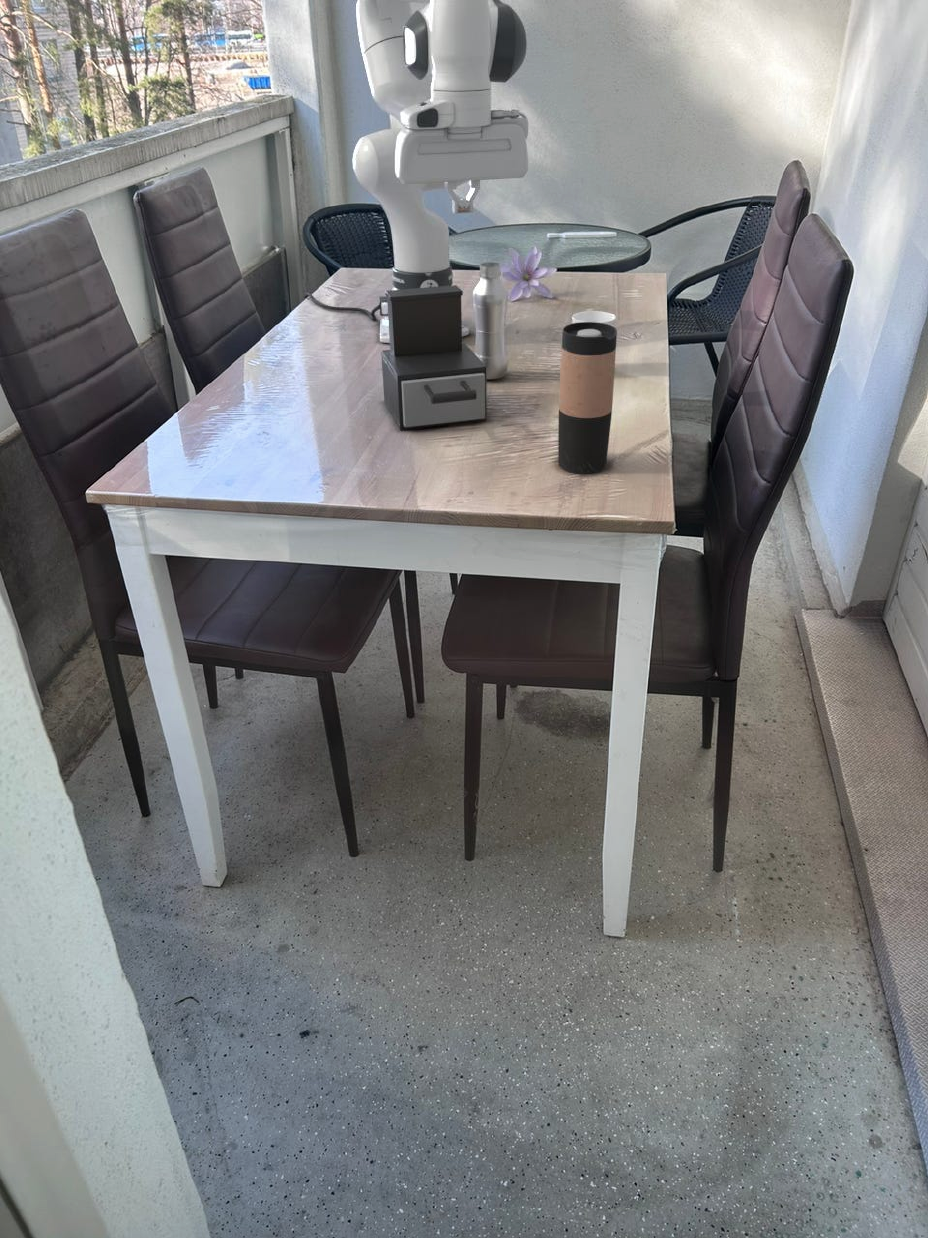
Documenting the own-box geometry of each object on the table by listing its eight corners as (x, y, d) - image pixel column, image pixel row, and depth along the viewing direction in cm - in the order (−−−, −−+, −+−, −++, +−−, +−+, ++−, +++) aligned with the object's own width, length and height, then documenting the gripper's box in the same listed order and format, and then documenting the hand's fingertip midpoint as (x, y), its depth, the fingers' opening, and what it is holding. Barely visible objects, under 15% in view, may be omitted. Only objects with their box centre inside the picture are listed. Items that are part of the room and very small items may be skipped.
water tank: (388, 349, 160) (385, 290, 155) (457, 343, 163) (456, 284, 158) (393, 357, 157) (390, 296, 152) (463, 350, 160) (462, 290, 154)
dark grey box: (486, 420, 157) (486, 366, 152) (400, 430, 154) (397, 375, 149) (465, 393, 168) (464, 342, 163) (384, 402, 165) (381, 350, 160)
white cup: (610, 378, 174) (614, 323, 168) (567, 376, 175) (570, 321, 170) (613, 365, 180) (617, 311, 175) (572, 363, 182) (574, 309, 176)
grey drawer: (496, 432, 150) (496, 387, 146) (413, 442, 147) (411, 396, 143) (465, 393, 166) (464, 351, 162) (390, 401, 163) (387, 359, 159)
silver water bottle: (512, 373, 177) (513, 261, 166) (501, 384, 172) (502, 269, 161) (479, 370, 179) (478, 259, 168) (467, 381, 174) (466, 267, 163)
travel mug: (552, 455, 145) (557, 322, 134) (602, 452, 145) (611, 320, 134) (561, 476, 138) (567, 338, 127) (612, 473, 139) (623, 336, 128)
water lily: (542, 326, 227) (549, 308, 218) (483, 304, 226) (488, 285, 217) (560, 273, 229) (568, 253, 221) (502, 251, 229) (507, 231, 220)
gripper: (522, 106, 144) (520, 204, 152) (389, 112, 140) (394, 212, 148) (535, 110, 139) (532, 211, 147) (398, 116, 135) (403, 220, 143)
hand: (462, 212), depth 147 cm, fingers closed
